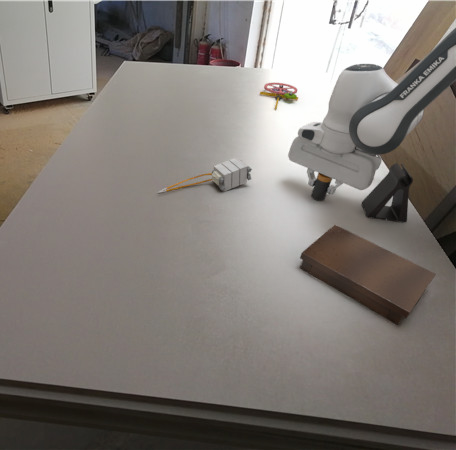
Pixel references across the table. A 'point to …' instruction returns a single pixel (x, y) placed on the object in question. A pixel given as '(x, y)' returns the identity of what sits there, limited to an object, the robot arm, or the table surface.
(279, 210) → the table surface
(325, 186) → the battery
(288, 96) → the mechanical gear assembly
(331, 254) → the block
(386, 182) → the phone stand
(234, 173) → the electrical component
